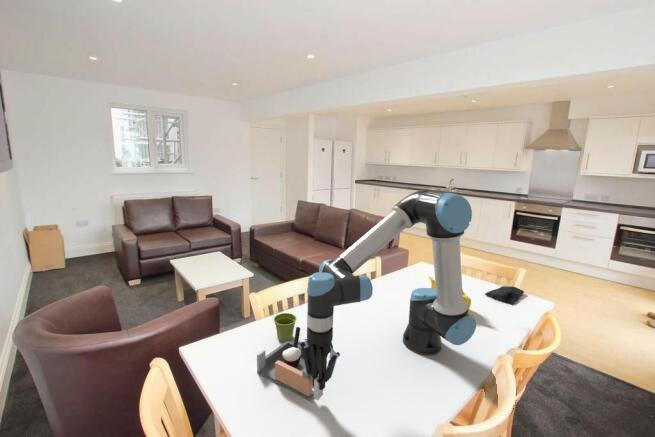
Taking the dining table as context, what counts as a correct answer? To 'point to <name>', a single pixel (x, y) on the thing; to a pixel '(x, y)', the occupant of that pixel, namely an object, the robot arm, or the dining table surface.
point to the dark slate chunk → (505, 294)
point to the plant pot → (285, 326)
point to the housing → (268, 362)
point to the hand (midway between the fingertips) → (318, 396)
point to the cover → (294, 378)
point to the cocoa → (293, 352)
